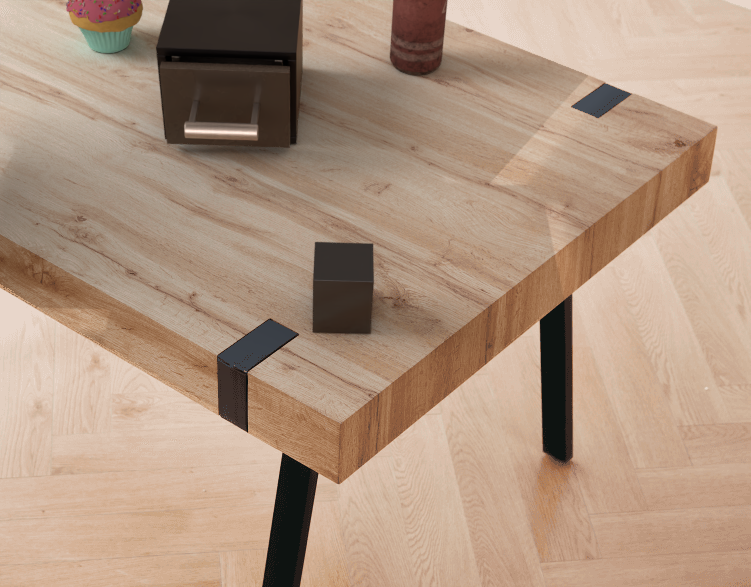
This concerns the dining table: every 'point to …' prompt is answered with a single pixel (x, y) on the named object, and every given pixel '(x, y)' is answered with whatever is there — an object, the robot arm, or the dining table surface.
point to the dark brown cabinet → (237, 36)
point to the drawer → (226, 101)
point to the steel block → (343, 287)
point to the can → (417, 35)
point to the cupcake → (105, 22)
